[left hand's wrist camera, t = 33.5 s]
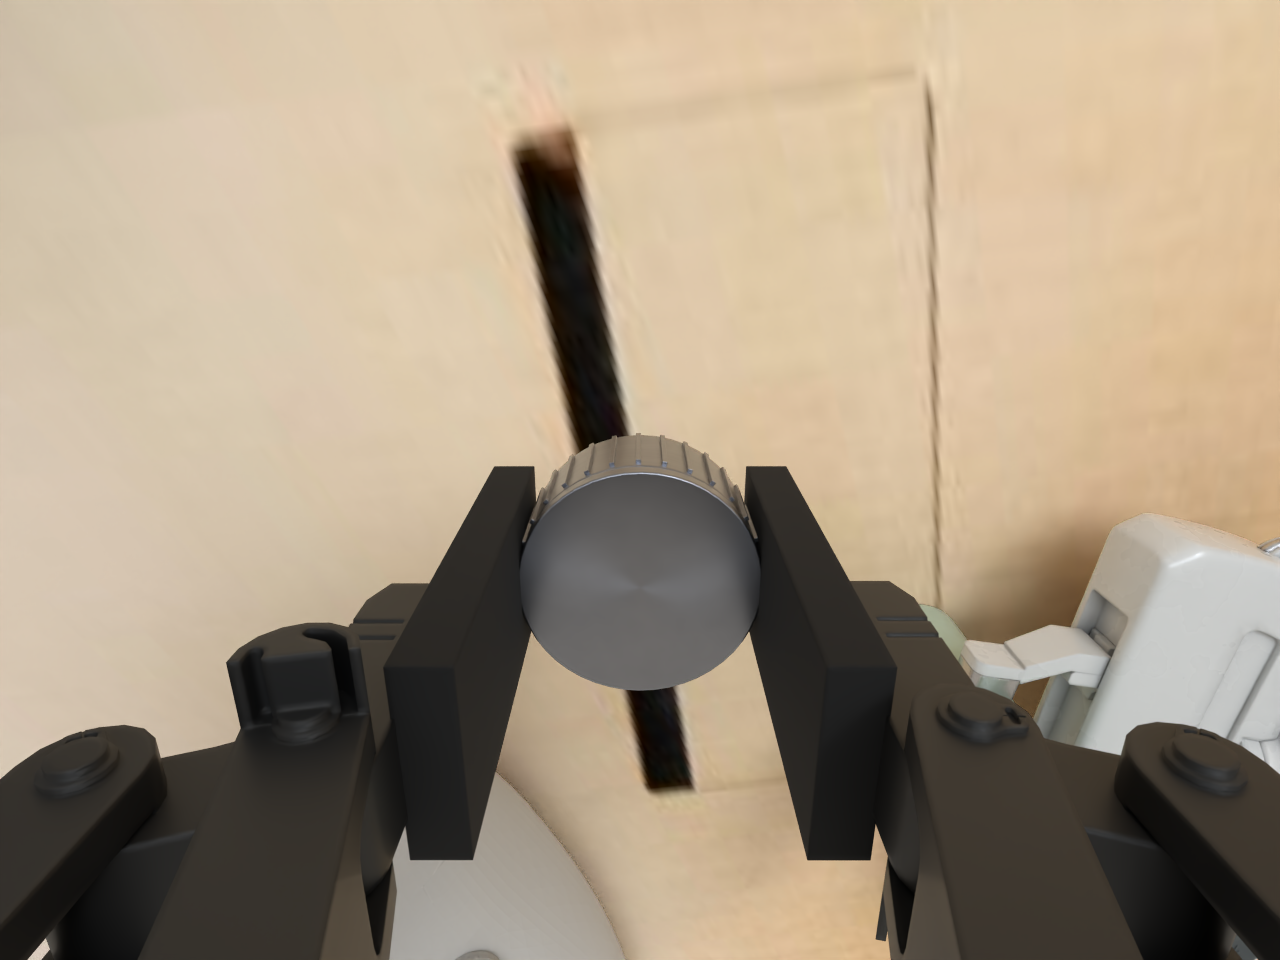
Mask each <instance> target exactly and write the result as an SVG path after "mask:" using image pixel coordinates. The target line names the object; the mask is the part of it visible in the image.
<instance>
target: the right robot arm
mask: <svg viewBox="0 0 1280 960" xmlns="http://www.w3.org/2000/svg"><path fill="white" fill-rule="evenodd" d="M958 662H959V663H960V665H961V666H962V668H963V669H964V670H965V672H966V673H967V675H968V676H969V678H970V679H971V681H972V682H973V683H974V685H975V686H976V687H979V688H984V689H987V690H990V691H992V692H994V693H997V694H999V695H1001V696H1004V697H1006V698H1008V699H1010V700H1011V701H1012V699H1013V696H1014V694H1015V692H1016V690H1017V687H1018V685H1019V683H1020V684H1023V683H1027V682H1031V681H1035V680H1039V679H1042V678H1046V677H1050V678H1049V681H1048V683H1047V685H1046V688H1045V690H1044V693H1043V695H1042V697H1041V700H1040V702H1039V705H1038V707H1037V710H1036V712H1035V714H1034V717H1033V720H1034V721H1035V723H1036V724H1037V725H1038V727H1039V728H1040V730H1041V733H1042V735H1043V737H1044V738H1046V739H1050V740H1054V741H1057V742H1061V743H1065V744H1069V745H1074V746H1079V747H1084V748H1088V749H1093V750H1098V751H1103V752H1108V753H1113V754H1117V755H1121V752H1122V749H1123V745H1124V741H1125V738H1126V735H1127V734H1128V733H1129V732H1130V731H1131V730H1132V729H1134V728H1135V727H1136V726H1137V725H1142V724H1147V723H1153V722H1165V723H1176V724H1184V725H1189V726H1194V727H1197V728H1198V729H1200V728H1202V729H1205V730H1208V731H1211V732H1214V733H1216V734H1218V735H1219V736H1221V737H1223V738H1226V739H1228V740H1230V741H1232V742H1234V743H1236V744H1239V745H1241V746H1243V747H1244V748H1246V749H1247V750H1248V751H1250V752H1251V753H1253V754H1254V755H1256V756H1257V757H1259V758H1260V759H1262V760H1263V761H1264V762H1266V763H1267V764H1268V765H1270V766H1271V767H1272V768H1273V769H1274V770H1275V771H1277V772H1278V773H1279V774H1280V537H1277V538H1273V539H1270V540H1268V541H1266V542H1264V543H1262V544H1260V545H1259V544H1257V543H1255V542H1252V541H1250V540H1248V539H1245V538H1243V537H1240V536H1237V535H1234V534H1232V533H1229V532H1226V531H1223V530H1219V529H1216V528H1213V527H1210V526H1206V525H1203V524H1199V523H1195V522H1192V521H1188V520H1183V519H1179V518H1175V517H1170V516H1165V515H1160V514H1154V513H1142V514H1139V515H1137V516H1135V517H1132V518H1130V519H1128V520H1125V521H1123V522H1121V523H1119V524H1117V525H1116V526H1114V527H1113V528H1112V530H1111V531H1110V533H1109V535H1108V537H1107V539H1106V542H1105V544H1104V547H1103V549H1102V552H1101V554H1100V557H1099V559H1098V562H1097V564H1096V566H1095V569H1094V571H1093V574H1092V576H1091V579H1090V581H1089V583H1088V586H1087V588H1086V591H1085V593H1084V596H1083V598H1082V600H1081V603H1080V605H1079V608H1078V610H1077V613H1076V615H1075V617H1074V620H1073V622H1072V625H1071V627H1065V626H1058V625H1048V626H1045V627H1042V628H1040V629H1037V630H1034V631H1032V632H1029V633H1026V634H1024V635H1021V636H1018V637H1016V638H1013V639H1010V640H1007V641H1005V642H1004V644H998V643H990V642H983V641H975V640H967V641H965V643H964V646H963V648H962V651H961V654H960V657H959V660H958ZM1232 948H1233V949H1234V950H1235V951H1236V952H1237V954H1238V955H1239V956H1240V957H1241V958H1242V960H1256V959H1257V958H1256V957H1255V955H1254V954H1253V953H1252V952H1251V951H1250V950H1249V948H1248V947H1247V946H1246V945H1245V944H1244V943H1243V941H1242V940H1241V939H1240V938H1239V937H1238V936H1237V934H1236V936H1235V939H1234V942H1233V944H1232Z"/></svg>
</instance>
